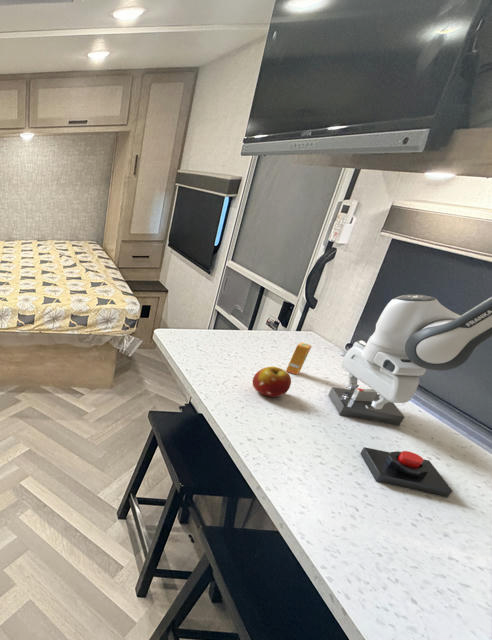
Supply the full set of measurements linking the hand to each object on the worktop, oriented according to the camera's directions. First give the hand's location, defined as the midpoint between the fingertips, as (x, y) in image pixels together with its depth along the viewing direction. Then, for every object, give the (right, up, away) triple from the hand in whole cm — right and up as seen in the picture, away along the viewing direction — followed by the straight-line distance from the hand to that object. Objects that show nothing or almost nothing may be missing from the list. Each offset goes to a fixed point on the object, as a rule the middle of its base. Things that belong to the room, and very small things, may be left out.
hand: (363, 398), depth 111 cm
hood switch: (-11, -15, -21) cm, 28 cm away
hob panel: (+1, -3, +1) cm, 4 cm away
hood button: (-11, -12, -23) cm, 28 cm away
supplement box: (-4, +7, +21) cm, 22 cm away
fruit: (-20, 0, +10) cm, 22 cm away
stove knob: (0, -1, 0) cm, 1 cm away
